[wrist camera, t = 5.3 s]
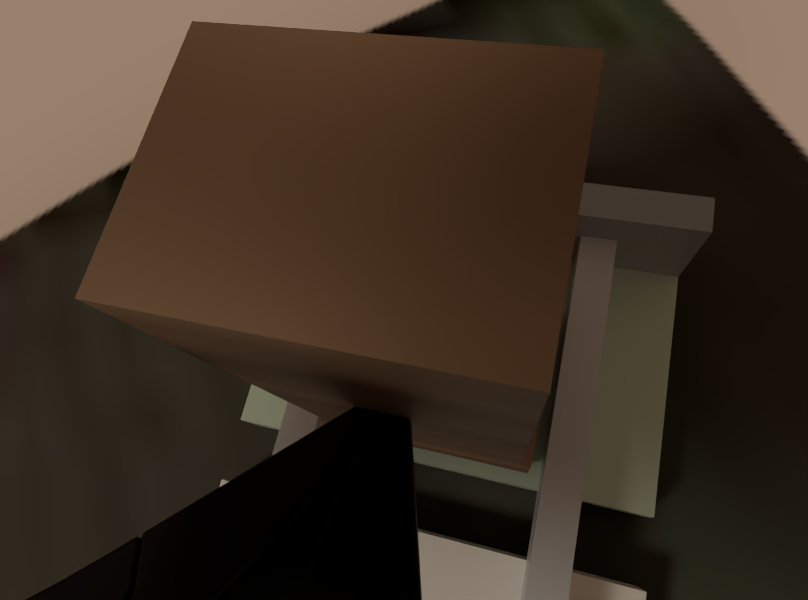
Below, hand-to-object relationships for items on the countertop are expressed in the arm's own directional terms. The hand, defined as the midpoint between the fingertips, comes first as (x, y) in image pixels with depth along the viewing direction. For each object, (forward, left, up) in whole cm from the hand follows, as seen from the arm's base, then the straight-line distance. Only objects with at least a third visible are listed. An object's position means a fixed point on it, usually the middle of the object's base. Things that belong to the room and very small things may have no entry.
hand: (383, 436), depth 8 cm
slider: (+2, -1, -5) cm, 6 cm away
